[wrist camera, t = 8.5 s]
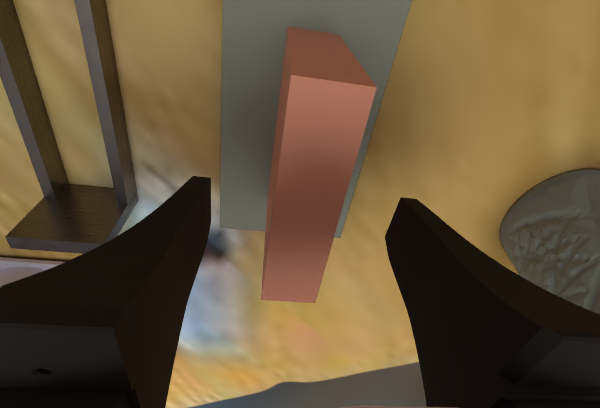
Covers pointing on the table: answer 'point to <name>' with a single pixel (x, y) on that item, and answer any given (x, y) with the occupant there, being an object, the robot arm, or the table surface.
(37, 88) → the rack
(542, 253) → the grey cylindrical pot
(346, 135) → the salmon pink rectangular block
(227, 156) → the mat
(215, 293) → the table surface
